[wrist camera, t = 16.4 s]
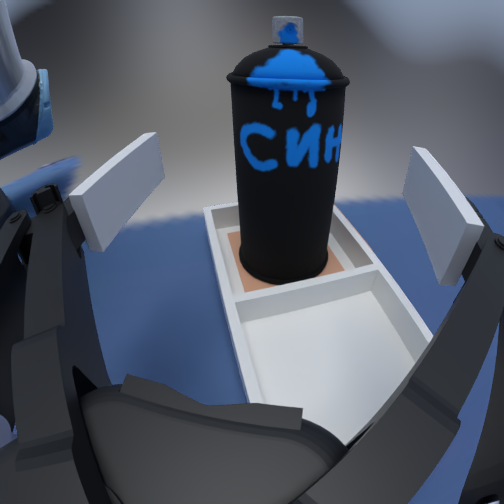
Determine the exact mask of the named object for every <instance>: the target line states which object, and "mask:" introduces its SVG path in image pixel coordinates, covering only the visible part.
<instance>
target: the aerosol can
mask: <svg viewBox="0 0 504 504" xmlns="http://www.w3.org/2000/svg"><path fill="white" fill-rule="evenodd" d="M273 42H274V43H283V45H269V46H268V47H269V48H266V49H263V50H260V51H257V52H254V53H252V54H250V55H248V56H246V57H245V58H244V59H243V60H242V61H241V62H240V63H239V64H238V65H237V66H236V67H235V69H234V71H233V72H232V73H229V74H228V75H227V77H226V78H227V80H228V81H229V82H230V83H231V97H232V114H233V130H234V146H235V161H236V179H237V194H238V209H239V223H240V238H241V245H240V248H239V259H240V262H241V263H242V265H243V267H244V268H245V269H246V271H247V272H248V273H250V274H251V275H252V276H254V277H255V278H257V279H259V280H261V281H264V282H267V283H271V284H277V285H284V284H288V283H293V282H298V281H302V280H307V279H311V278H315V277H316V276H317V275H319V274H320V273H321V272H322V271H323V269H324V268H325V267H326V264H327V262H328V250H327V246H328V240H329V233H330V227H331V220H332V213H333V206H334V199H335V191H336V184H337V175H338V167H339V158H340V149H341V138H342V128H343V127H342V126H343V115H344V102H345V87H346V86H347V85H349V83H350V81H349V79H348V78H347V77H345V76H343V75H342V72H341V70H340V69H339V68H338V67H337V65H336V64H335V63H334V62H333V61H332V60H330V59H329V58H327V57H326V56H324V55H322V54H320V53H317V52H315V51H312V50H310V49H307V48H308V47H307V46H294V45H293V44H303V19H302V18H301V17H292V16H277V17H273Z"/></svg>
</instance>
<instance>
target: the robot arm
mask: <svg viewBox="0 0 504 504" xmlns="http://www.w3.org/2000/svg"><path fill="white" fill-rule="evenodd" d="M52 131H53V118H52V110H51V102H50V93H49V82H48V71H47V70H46V69H39V70H37V71H36V69H35V67H34V65H33V64H32V63H31V62H29V61H27V60H21V57H20V54H19V51H18V48H17V44H16V41H15V37H14V34H13V30H12V27H11V23H10V19H9V15H8V11H7V6H6V2H5V0H0V160H1V159H3V158H4V157H7V156H9V155H11V154H13V153H15V152H17V151H19V150H21V149H23V148H26V147H28V146H30V145H32V144H33V145H34V144H36V143H37V142H38V141H40V140H42V139H43V138H46V137H48V136H49V135H50V134H51V133H52ZM164 178H165V174H164V169H163V164H162V158H161V152H160V147H159V141H158V135H157V132H154V133H145V134H143V135H142V136H140V137H139V138H138V139H136V140H135V141H134V142H132V143H131V144H130V145H128V146H127V147H126V148H124V149H123V150H122V151H120V152H119V153H118V154H116V155H115V156H114V157H113V158H111V159H110V160H109V161H107V162H106V163H105V164H104V165H103V166H101V167H100V168H99V169H98V170H97V171H95V172H94V173H93V174H92V175H91V176H90V177H88V178H87V179H86V180H85V181H84V182H83V183H81V184H80V185H79V186H78V187H77V188H76V189H75V190H73V191H72V192H71V193H70V194H69V195H68V196H69V197H68V198H67V199H66V200H65V201H64V202H63V201H62V198H61V195H60V192H59V190H58V187H57V184H55V183H52V184H48V185H45V186H43V187H41V188H39V189H38V190H36V191H35V192H34V193H33V194H32V195H31V197H30V199H31V202H32V204H33V207H34V209H35V211H36V214H37V216H36V217H35V218H31V219H30V217H29V215H28V213H27V211H26V210H20V211H18V212H17V211H16V212H15V209H14V207H13V204H12V202H11V200H10V198H9V197H8V196H6V195H5V193H4V192H3V191H2V189H1V188H0V504H407V503H408V502H409V501H410V500H411V499H412V497H413V496H414V495H415V494H416V492H417V491H418V490H419V489H420V487H421V486H422V485H423V483H424V482H425V481H426V479H427V478H428V477H429V475H430V474H431V472H432V471H433V470H434V468H435V467H436V465H437V464H438V462H439V461H440V459H441V458H442V456H443V455H444V453H445V452H446V450H447V449H448V447H449V446H450V444H451V442H452V441H453V439H454V437H455V436H456V434H457V432H458V430H459V427H460V423H461V421H460V420H459V419H457V417H458V414H459V412H460V410H461V408H462V406H463V404H464V402H465V400H466V398H467V396H468V394H469V393H470V391H471V388H472V386H473V384H474V382H475V380H476V378H477V376H478V374H479V371H480V369H481V367H482V365H483V362H484V360H485V358H486V355H487V353H488V350H489V348H490V345H491V342H492V340H493V337H494V334H495V332H496V329H497V326H498V323H499V336H498V347H497V356H496V364H495V372H494V378H493V384H492V390H491V395H490V400H489V405H488V409H487V414H486V418H485V422H484V426H483V429H482V433H481V437H480V440H479V444H478V447H477V450H476V453H475V456H474V459H473V462H472V465H471V468H470V470H469V473H468V476H467V479H466V482H465V484H464V487H463V490H462V493H461V496H460V500H459V503H458V504H504V237H503V236H502V235H500V234H496V233H493V232H492V230H491V229H490V227H489V225H488V224H487V222H486V221H485V219H483V216H482V215H481V213H479V211H478V209H477V208H476V206H475V205H474V204H473V203H472V202H471V201H470V200H469V199H467V198H466V197H464V195H463V194H462V193H461V191H460V190H459V189H458V187H457V186H456V185H455V183H454V182H453V181H452V180H451V178H450V177H449V176H448V174H447V173H446V172H445V171H444V169H443V168H442V167H441V166H440V165H439V163H438V162H437V161H436V160H435V159H434V157H433V156H432V155H431V154H430V153H429V152H428V150H427V149H424V148H420V147H414V146H413V148H412V153H411V158H410V162H409V167H408V172H407V176H406V181H405V185H404V189H403V193H402V194H403V196H404V198H405V200H406V202H407V205H408V207H409V209H410V211H411V214H412V216H413V218H414V220H415V223H416V225H417V227H418V230H419V232H420V235H421V237H422V240H423V242H424V245H425V247H426V250H427V252H428V255H429V258H430V260H431V263H432V266H433V269H434V272H435V274H436V277H437V280H438V283H439V285H448V286H455V285H456V284H457V282H458V280H459V278H460V276H461V274H462V275H463V278H464V280H465V283H464V285H463V286H462V288H461V290H460V292H459V293H458V295H457V297H456V298H455V300H454V302H453V305H452V306H451V308H450V310H449V312H448V313H447V315H446V317H445V319H444V320H443V322H442V324H441V325H440V327H439V328H438V330H437V332H436V333H435V335H434V336H433V338H432V339H431V341H430V343H429V344H428V346H427V347H426V349H425V350H424V352H423V353H422V355H421V356H420V357H419V359H418V360H417V362H416V363H415V365H414V366H413V367H412V369H411V370H410V371H409V373H408V374H407V375H406V377H405V378H404V379H403V381H402V382H401V383H400V385H399V386H398V387H397V389H396V390H395V391H394V392H393V394H392V395H391V396H390V397H389V399H388V400H387V401H386V402H385V403H384V405H383V406H382V407H381V408H380V409H379V410H378V412H377V413H376V414H375V415H374V416H373V417H372V418H371V420H370V421H369V422H368V423H367V424H366V425H365V426H364V427H363V428H362V429H361V430H360V431H359V432H358V433H357V434H356V435H355V436H354V437H353V438H352V439H351V440H350V441H349V442H348V443H347V444H346V445H344V444H343V443H342V442H341V441H340V440H339V439H338V438H337V437H336V436H335V435H333V434H332V433H331V432H330V431H328V430H326V429H325V428H323V427H322V426H320V425H318V424H316V423H313V422H311V421H309V420H306V419H303V418H302V414H303V408H297V407H287V406H278V405H270V404H262V403H246V404H232V405H211V406H210V405H203V404H201V403H199V402H197V401H195V400H193V399H191V398H189V397H187V396H185V395H183V394H181V393H179V392H177V391H175V390H174V389H172V388H170V387H168V386H166V385H164V384H161V383H157V382H153V381H150V380H146V379H142V378H139V377H136V376H132V375H129V374H127V375H126V378H125V380H124V383H123V384H118V385H112V384H111V382H110V380H109V377H108V374H107V370H106V367H105V363H104V359H103V355H102V351H101V347H100V343H99V339H98V334H97V330H96V325H95V320H94V315H93V310H92V304H91V298H90V292H89V286H88V280H87V272H86V265H85V256H84V251H83V249H82V247H81V244H82V243H83V242H84V241H85V239H86V242H87V244H88V246H89V249H90V251H97V252H104V251H105V250H106V248H107V247H108V246H109V244H110V243H111V242H112V240H113V239H114V238H115V237H116V235H117V234H118V233H119V231H120V230H121V229H122V228H123V226H124V225H125V224H126V223H127V221H128V220H129V219H130V218H131V216H132V215H133V214H134V213H135V211H136V210H137V209H138V208H139V207H140V205H141V204H142V203H143V202H144V200H145V199H146V198H147V197H148V196H149V195H150V194H151V192H152V191H153V190H154V189H155V188H156V187H157V185H158V184H159V183H160V182H161V181H162V180H163V179H164ZM18 254H19V256H20V257H21V259H22V261H23V262H22V264H21V262H20V260H19V258H18ZM15 422H16V429H17V436H18V437H17V436H16V435H15V434H13V433H12V432H13V429H14V425H15Z"/></svg>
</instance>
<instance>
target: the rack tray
mask: <svg viewBox="0 0 504 504" xmlns="http://www.w3.org/2000/svg"><path fill="white" fill-rule="evenodd" d="M203 211H204V218H205V225H206V231H207V237H208V242H209V246H210V251H211V256H212V260H213V265H214V269H215V274H216V278H217V283H218V287H219V292H220V296H221V300H222V304H223V309H224V313H225V317H226V321H227V325H228V330H229V334H230V338H231V342H232V346H233V350H234V354H235V358H236V362H237V365H238V369H239V373H240V377H241V381H242V385H243V388H244V392H245V396H246V400H247V403H262V404H270V405H278V406H287V407H297V408H303V414H302V418H303V419H306V420H309V421H311V422H313V423H316V424H318V425H320V426H322V427H323V428H325V429H326V430H328V431H330V432H331V433H332V434H333V435H335V436H336V437H337V438H338V439H339V440H340V441H341V442H342V443H343V444H344V445H346V444H347V443H348V442H349V441H350V440H351V439H352V438H353V437H354V436H355V435H356V434H357V433H358V432H359V431H360V430H361V429H362V428H363V427H364V426H365V425H366V424H367V423H368V422H369V421H370V420H371V418H372V417H373V416H374V415H375V414H376V413H377V412H378V410H379V409H380V408H381V407H382V406H383V405H384V403H385V402H386V401H387V400H388V399H389V397H390V396H391V395H392V394H393V392H394V391H395V390H396V389H397V387H398V386H399V385H400V383H401V382H402V381H403V379H404V378H405V377H406V375H407V374H408V373H409V371H410V370H411V369H412V367H413V366H414V365H415V363H416V362H417V360H418V359H419V357H420V356H421V355H422V353H423V352H424V350H425V349H426V347H427V346H428V344H429V343H430V341H431V339H432V338H433V335H432V333H431V332H430V330H429V329H428V327H427V326H426V324H425V323H424V321H423V320H422V318H421V317H420V315H419V314H418V313H417V311H416V310H415V308H414V307H413V305H412V304H411V302H410V301H409V300H408V298H407V297H406V295H405V294H404V293H403V291H402V290H401V288H400V287H399V286H398V284H397V283H396V282H395V280H394V279H393V278H392V276H391V275H390V274H389V272H388V271H387V270H386V268H385V267H384V266H383V264H382V263H381V262H380V260H379V259H378V258H377V257H376V255H375V254H374V253H373V250H372V249H371V248H370V246H369V245H368V244H367V243H366V241H365V240H364V239H363V238H362V237H361V235H360V234H359V233H358V232H357V230H356V229H355V228H354V227H353V226H352V224H351V223H350V222H349V221H348V220H347V218H346V217H345V216H344V215H343V214H342V212H341V211H340V210H339V209H338V208H337V207H336V206H335V204H334V206H333V213H332V220H331V227H330V233H329V240H328V246H327V250H328V262H327V264H326V267H325V268H324V269H323V271H322V272H321V273H320V274H319V275H317V276H316V277H315V278H311V279H307V280H302V281H298V282H293V283H288V284H284V285H277V284H271V283H267V282H264V281H261V280H259V279H257V278H255V277H254V276H252V275H251V274H250V273H248V272H247V271H246V269H245V268H244V267H243V265H242V263H241V262H240V259H239V248H240V245H241V238H240V223H239V209H238V202H233V203H226V204H221V205H214V206H209V207H203Z"/></svg>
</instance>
